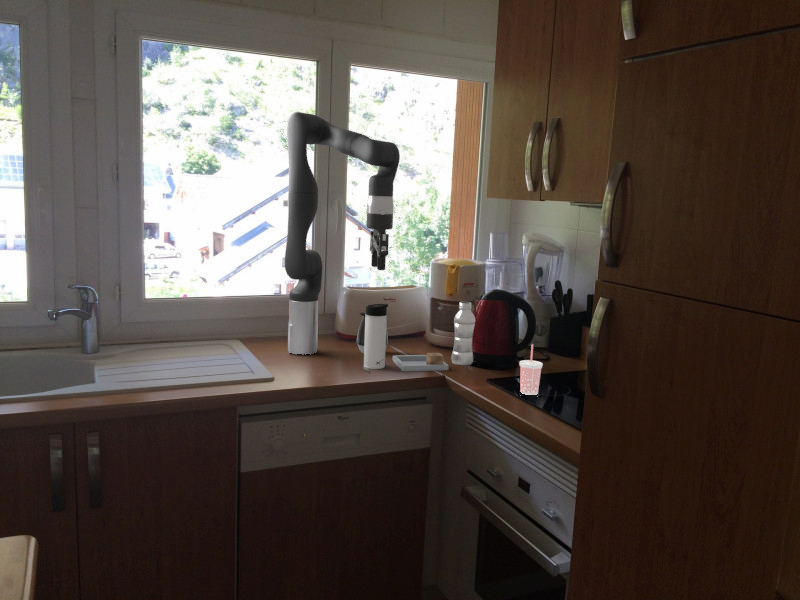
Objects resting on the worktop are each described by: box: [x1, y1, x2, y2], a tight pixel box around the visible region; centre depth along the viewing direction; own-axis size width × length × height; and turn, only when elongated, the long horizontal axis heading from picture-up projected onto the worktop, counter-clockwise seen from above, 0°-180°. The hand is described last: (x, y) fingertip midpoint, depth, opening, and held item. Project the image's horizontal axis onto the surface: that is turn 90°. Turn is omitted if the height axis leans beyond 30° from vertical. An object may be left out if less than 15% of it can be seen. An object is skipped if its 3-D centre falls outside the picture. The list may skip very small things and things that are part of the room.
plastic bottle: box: [451, 301, 476, 366], centre depth 207 cm, size 6×7×20 cm
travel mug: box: [363, 303, 389, 373], centre depth 198 cm, size 6×7×20 cm
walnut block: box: [426, 352, 444, 365], centre depth 201 cm, size 4×4×4 cm
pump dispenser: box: [356, 311, 389, 354], centre depth 219 cm, size 10×10×15 cm
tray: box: [392, 354, 449, 372], centre depth 203 cm, size 14×13×2 cm
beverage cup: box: [519, 343, 544, 395], centre depth 178 cm, size 6×6×14 cm
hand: (378, 268), depth 195 cm, fingers open, 8 cm apart
